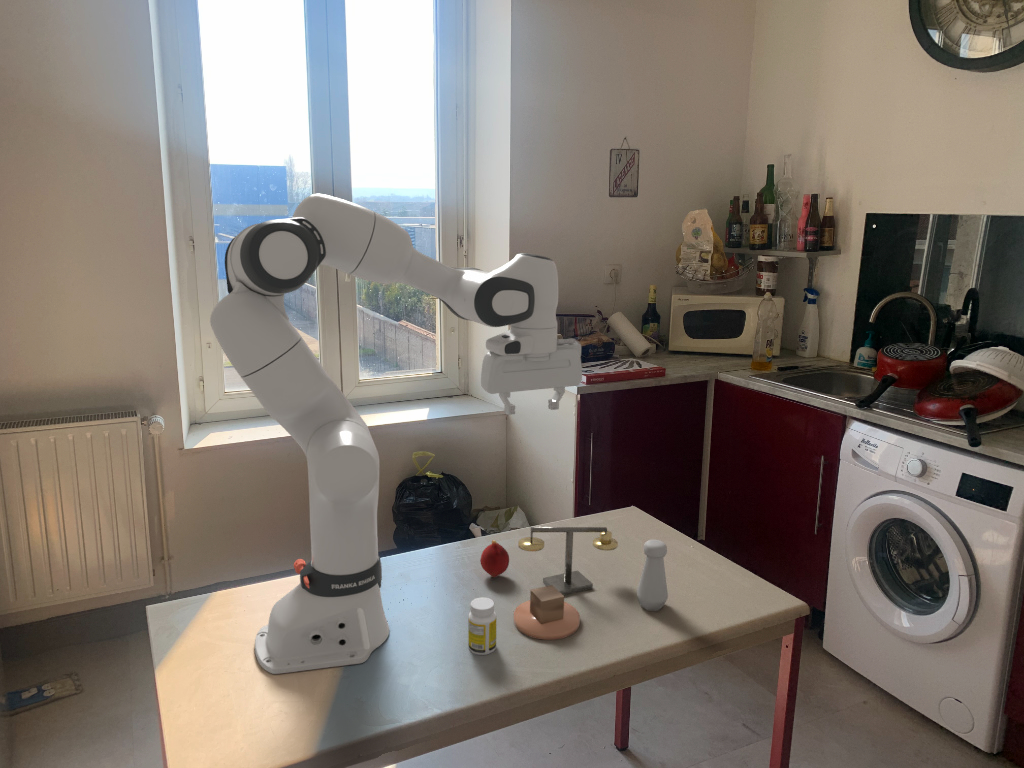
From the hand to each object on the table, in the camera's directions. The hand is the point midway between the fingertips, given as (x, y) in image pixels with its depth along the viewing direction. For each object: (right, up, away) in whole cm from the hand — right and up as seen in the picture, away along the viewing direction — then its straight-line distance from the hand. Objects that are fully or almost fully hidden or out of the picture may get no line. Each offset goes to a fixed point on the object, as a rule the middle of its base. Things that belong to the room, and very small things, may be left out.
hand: (531, 411), depth 142 cm
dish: (+3, -38, -8) cm, 39 cm away
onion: (-7, -34, +8) cm, 36 cm away
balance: (+7, -35, +5) cm, 36 cm away
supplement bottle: (-9, -40, -16) cm, 44 cm away
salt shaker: (+23, -37, -2) cm, 44 cm away
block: (+2, -37, -8) cm, 38 cm away
